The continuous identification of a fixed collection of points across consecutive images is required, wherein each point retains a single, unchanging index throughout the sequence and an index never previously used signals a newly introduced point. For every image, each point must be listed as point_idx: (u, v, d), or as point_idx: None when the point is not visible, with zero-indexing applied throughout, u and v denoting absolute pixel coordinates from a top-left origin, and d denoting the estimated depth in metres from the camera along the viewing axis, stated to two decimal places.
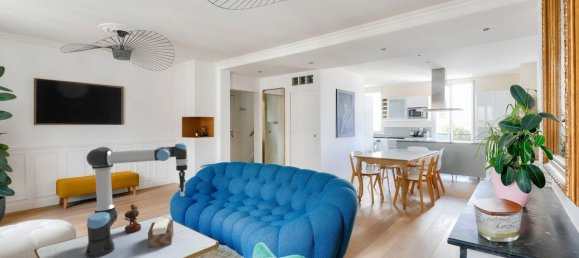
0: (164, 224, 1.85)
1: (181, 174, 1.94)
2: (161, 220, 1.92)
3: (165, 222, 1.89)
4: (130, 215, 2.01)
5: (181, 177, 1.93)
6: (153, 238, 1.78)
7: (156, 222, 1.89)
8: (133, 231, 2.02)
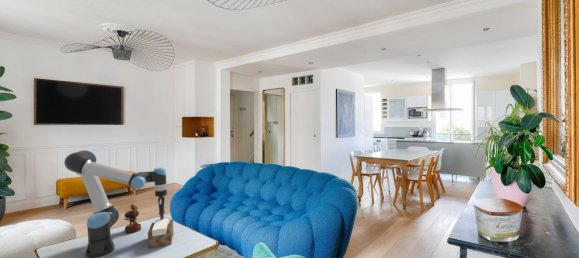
0: (164, 225, 1.83)
1: (160, 203, 1.89)
2: (161, 221, 1.91)
3: (164, 222, 1.88)
4: (130, 215, 2.01)
5: (160, 206, 1.90)
6: (153, 238, 1.78)
7: (156, 223, 1.87)
8: (133, 231, 2.02)
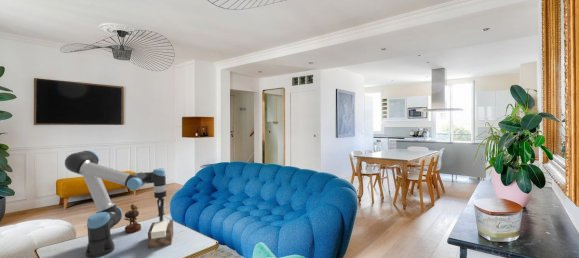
0: (163, 227, 1.80)
1: (159, 205, 1.85)
2: (160, 223, 1.87)
3: (164, 225, 1.84)
4: (130, 215, 2.01)
5: (159, 207, 1.86)
6: None
7: (155, 225, 1.83)
8: (133, 231, 2.02)
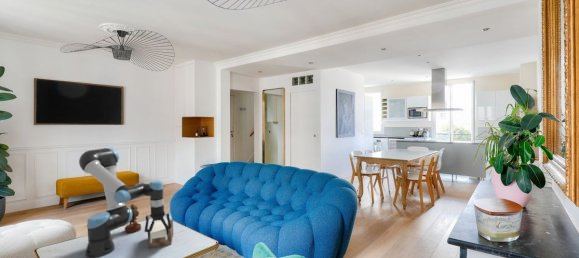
0: (163, 227, 1.79)
1: None
2: (160, 223, 1.87)
3: None
4: None
5: (146, 221, 1.73)
6: None
7: (155, 225, 1.83)
8: (133, 231, 2.02)
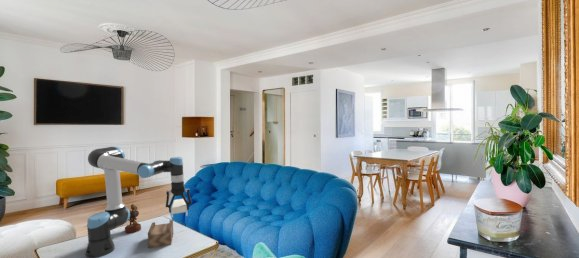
0: (183, 203, 1.81)
1: (166, 192, 1.75)
2: (179, 200, 1.89)
3: (183, 201, 1.86)
4: (130, 215, 2.01)
5: (167, 196, 1.75)
6: (153, 238, 1.78)
7: (174, 202, 1.85)
8: (133, 231, 2.02)
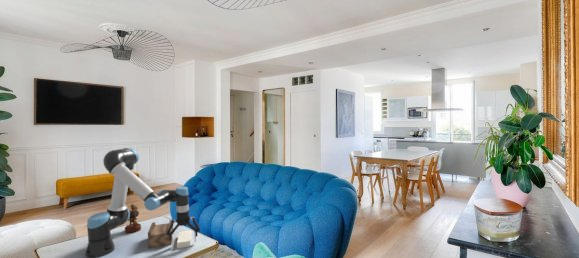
0: (188, 237, 1.83)
1: None
2: (184, 233, 1.91)
3: (188, 234, 1.87)
4: (130, 215, 2.01)
5: None
6: (153, 238, 1.78)
7: (180, 235, 1.87)
8: (133, 231, 2.02)
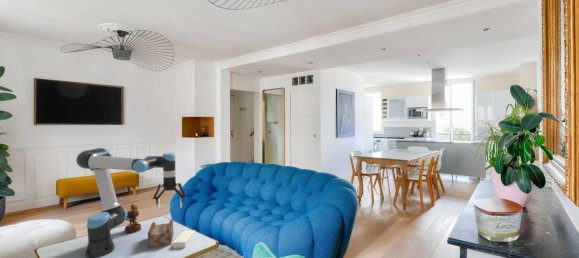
0: (186, 238, 1.82)
1: (158, 185, 1.81)
2: (187, 232, 1.91)
3: (189, 235, 1.87)
4: (130, 215, 2.01)
5: (157, 189, 1.81)
6: (153, 238, 1.78)
7: (181, 234, 1.88)
8: (133, 231, 2.02)
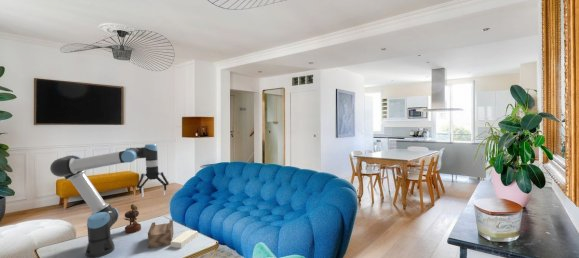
0: (184, 238, 1.82)
1: None
2: (189, 232, 1.91)
3: (188, 235, 1.86)
4: (130, 215, 2.01)
5: (140, 178, 1.91)
6: (153, 238, 1.78)
7: (183, 234, 1.89)
8: (133, 231, 2.02)
